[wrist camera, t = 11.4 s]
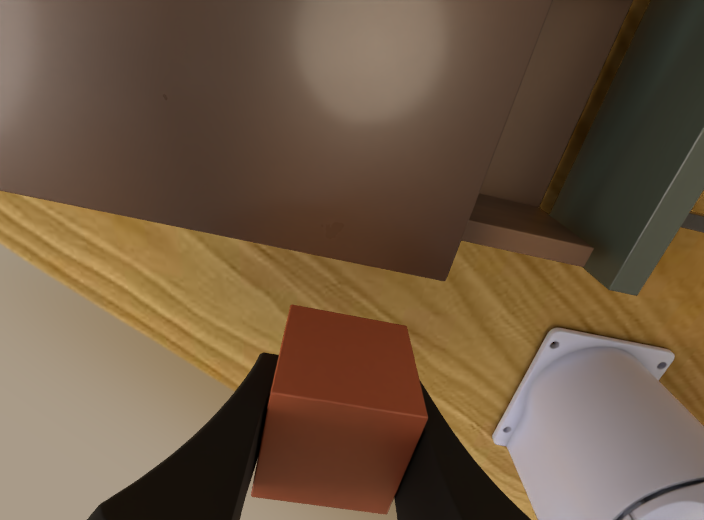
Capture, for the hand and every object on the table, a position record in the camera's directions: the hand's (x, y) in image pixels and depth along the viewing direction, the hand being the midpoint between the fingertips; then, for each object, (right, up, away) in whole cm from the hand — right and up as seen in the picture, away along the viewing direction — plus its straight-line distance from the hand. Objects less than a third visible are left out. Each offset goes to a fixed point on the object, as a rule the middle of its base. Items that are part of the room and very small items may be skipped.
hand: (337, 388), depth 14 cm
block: (0, +1, +1) cm, 1 cm away
